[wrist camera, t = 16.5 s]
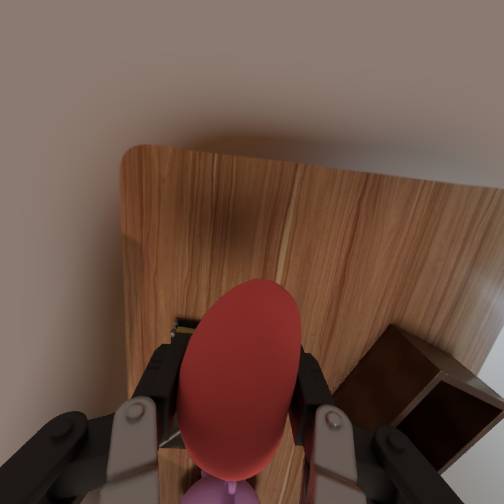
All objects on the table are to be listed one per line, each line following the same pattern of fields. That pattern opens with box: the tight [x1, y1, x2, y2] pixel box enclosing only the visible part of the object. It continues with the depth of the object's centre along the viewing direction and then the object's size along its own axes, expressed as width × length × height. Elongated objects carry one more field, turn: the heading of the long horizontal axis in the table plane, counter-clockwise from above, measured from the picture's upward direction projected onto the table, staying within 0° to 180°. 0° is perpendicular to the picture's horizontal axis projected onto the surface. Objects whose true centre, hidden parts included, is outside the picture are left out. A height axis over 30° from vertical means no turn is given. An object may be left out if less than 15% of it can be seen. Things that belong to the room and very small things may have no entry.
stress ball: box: [176, 279, 301, 481], centre depth 11 cm, size 5×9×6 cm, turn 161°
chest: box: [332, 324, 504, 475], centre depth 34 cm, size 16×13×9 cm
